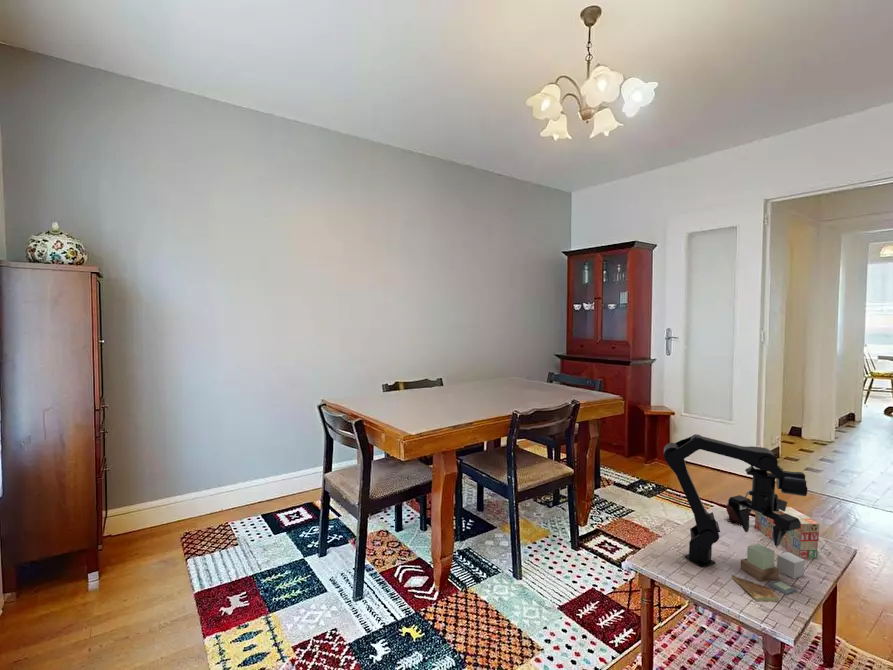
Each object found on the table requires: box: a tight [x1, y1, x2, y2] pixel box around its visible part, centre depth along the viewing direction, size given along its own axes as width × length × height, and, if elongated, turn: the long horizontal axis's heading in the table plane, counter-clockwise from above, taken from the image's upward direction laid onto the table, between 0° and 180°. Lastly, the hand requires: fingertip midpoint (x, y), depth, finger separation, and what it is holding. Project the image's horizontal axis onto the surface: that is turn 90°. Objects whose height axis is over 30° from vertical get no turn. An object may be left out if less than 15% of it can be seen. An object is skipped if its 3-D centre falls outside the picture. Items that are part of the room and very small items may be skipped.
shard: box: [731, 574, 779, 602], centre depth 131 cm, size 11×8×2 cm
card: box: [768, 579, 798, 596], centre depth 132 cm, size 5×5×1 cm
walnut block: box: [739, 558, 780, 583], centre depth 139 cm, size 7×7×4 cm
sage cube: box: [746, 543, 776, 570], centre depth 139 cm, size 5×5×5 cm
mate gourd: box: [726, 488, 752, 526], centre depth 173 cm, size 8×8×15 cm
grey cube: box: [776, 551, 806, 579], centre depth 140 cm, size 5×5×5 cm
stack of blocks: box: [754, 506, 820, 559], centre depth 158 cm, size 21×6×12 cm, turn 1°
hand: (761, 538), depth 139 cm, fingers open, 9 cm apart
